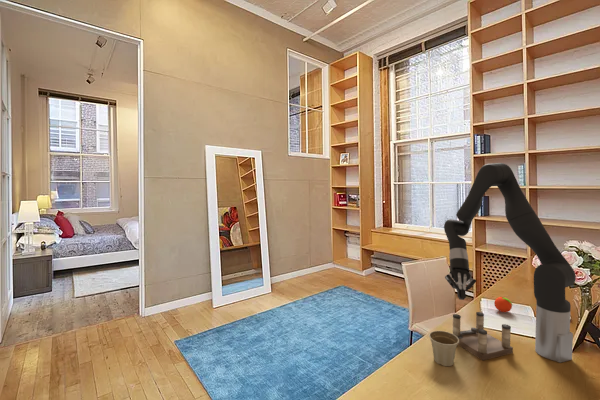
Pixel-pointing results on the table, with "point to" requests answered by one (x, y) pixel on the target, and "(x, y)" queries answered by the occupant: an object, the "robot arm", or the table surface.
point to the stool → (486, 341)
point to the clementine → (503, 304)
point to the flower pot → (444, 347)
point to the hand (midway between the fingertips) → (461, 299)
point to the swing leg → (457, 327)
